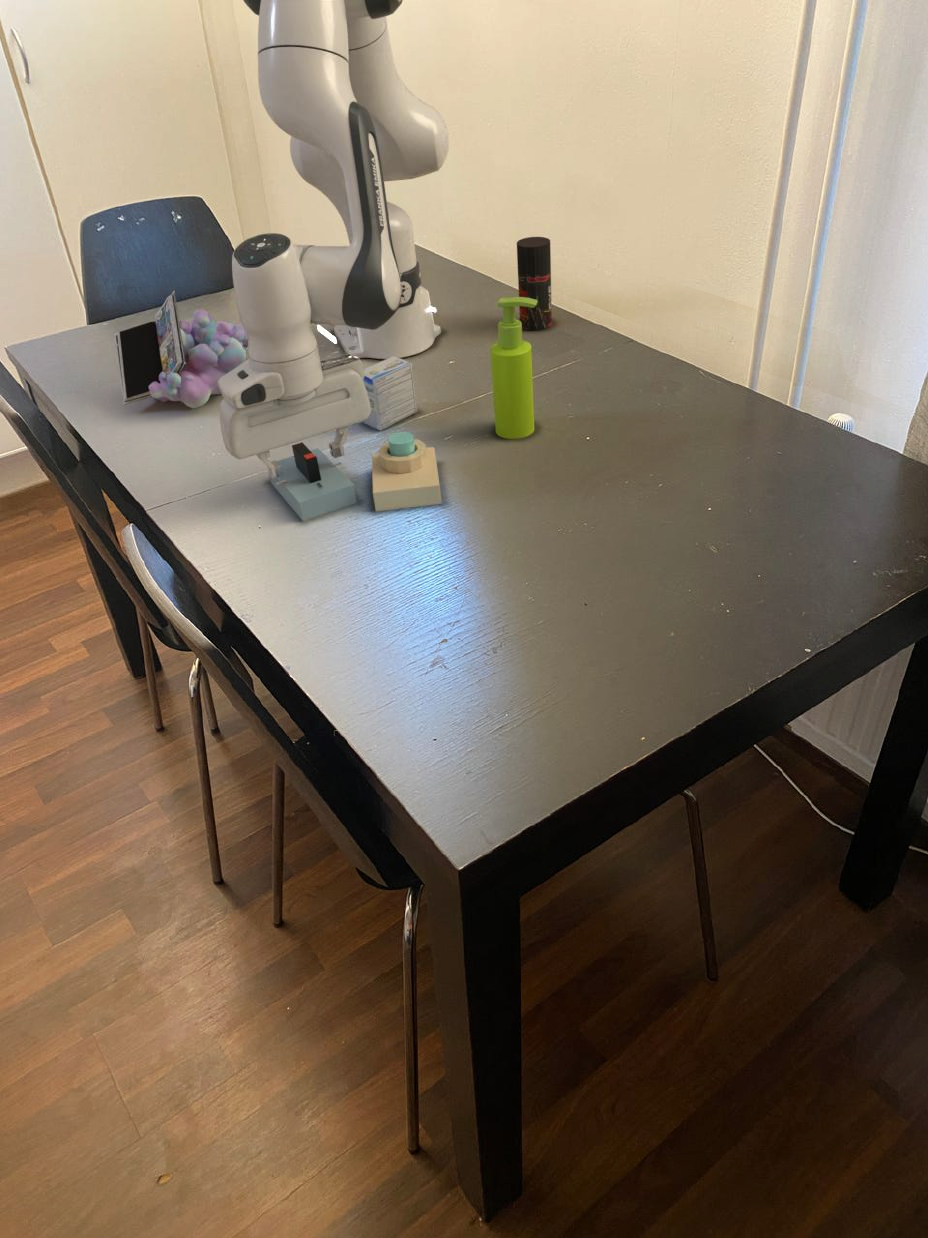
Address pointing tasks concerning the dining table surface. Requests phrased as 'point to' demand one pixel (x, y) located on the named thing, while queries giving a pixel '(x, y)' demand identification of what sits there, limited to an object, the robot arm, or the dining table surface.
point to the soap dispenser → (512, 374)
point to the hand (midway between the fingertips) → (307, 465)
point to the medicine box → (389, 392)
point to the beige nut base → (405, 478)
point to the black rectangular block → (306, 462)
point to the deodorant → (535, 282)
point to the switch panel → (314, 488)
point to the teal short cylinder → (401, 444)
